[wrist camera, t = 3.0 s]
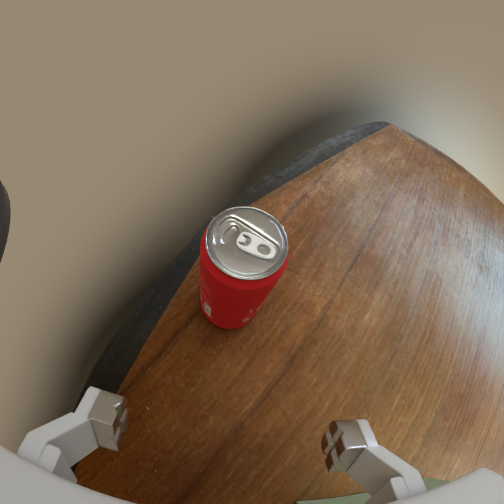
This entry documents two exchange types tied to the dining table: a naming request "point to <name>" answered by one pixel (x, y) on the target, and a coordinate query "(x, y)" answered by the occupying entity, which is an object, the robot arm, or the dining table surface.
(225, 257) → the beverage can
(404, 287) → the dining table surface
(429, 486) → the bin
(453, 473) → the dining table surface
